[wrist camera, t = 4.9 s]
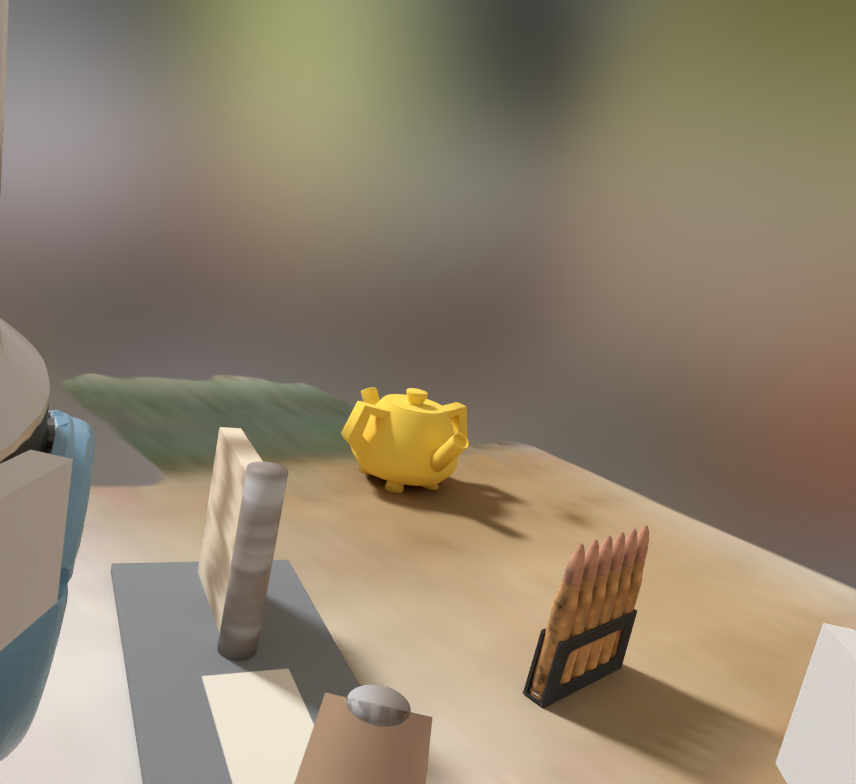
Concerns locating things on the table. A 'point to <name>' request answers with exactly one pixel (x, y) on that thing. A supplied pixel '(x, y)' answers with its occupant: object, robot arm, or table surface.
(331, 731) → the brown rectangular block
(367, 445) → the teapot
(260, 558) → the birch hinge leaf
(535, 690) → the ammunition clip
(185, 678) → the mat
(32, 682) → the robot arm
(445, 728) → the table surface
